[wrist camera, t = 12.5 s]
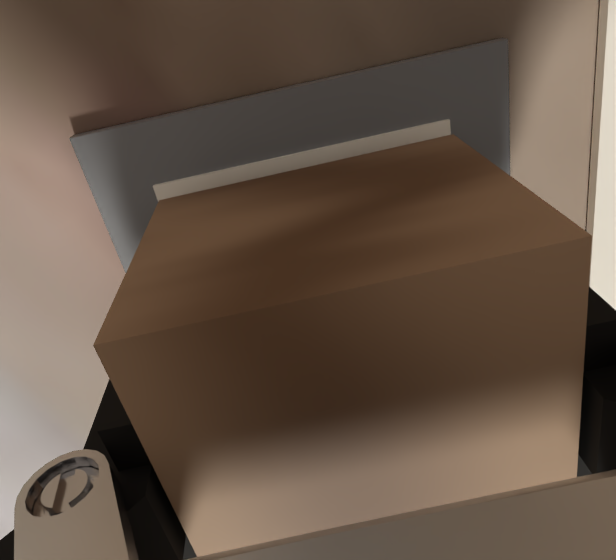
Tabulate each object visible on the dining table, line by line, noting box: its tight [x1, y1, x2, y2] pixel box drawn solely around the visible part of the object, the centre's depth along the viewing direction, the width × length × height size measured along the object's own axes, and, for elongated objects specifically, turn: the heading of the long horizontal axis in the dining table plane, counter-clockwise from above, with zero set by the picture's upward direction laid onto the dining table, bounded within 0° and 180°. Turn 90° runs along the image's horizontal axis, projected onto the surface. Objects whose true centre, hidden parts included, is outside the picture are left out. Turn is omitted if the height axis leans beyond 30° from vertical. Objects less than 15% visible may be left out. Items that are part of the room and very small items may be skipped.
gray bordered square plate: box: [69, 38, 510, 272], centre depth 13 cm, size 9×9×1 cm
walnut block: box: [93, 134, 592, 557], centre depth 10 cm, size 6×6×5 cm
